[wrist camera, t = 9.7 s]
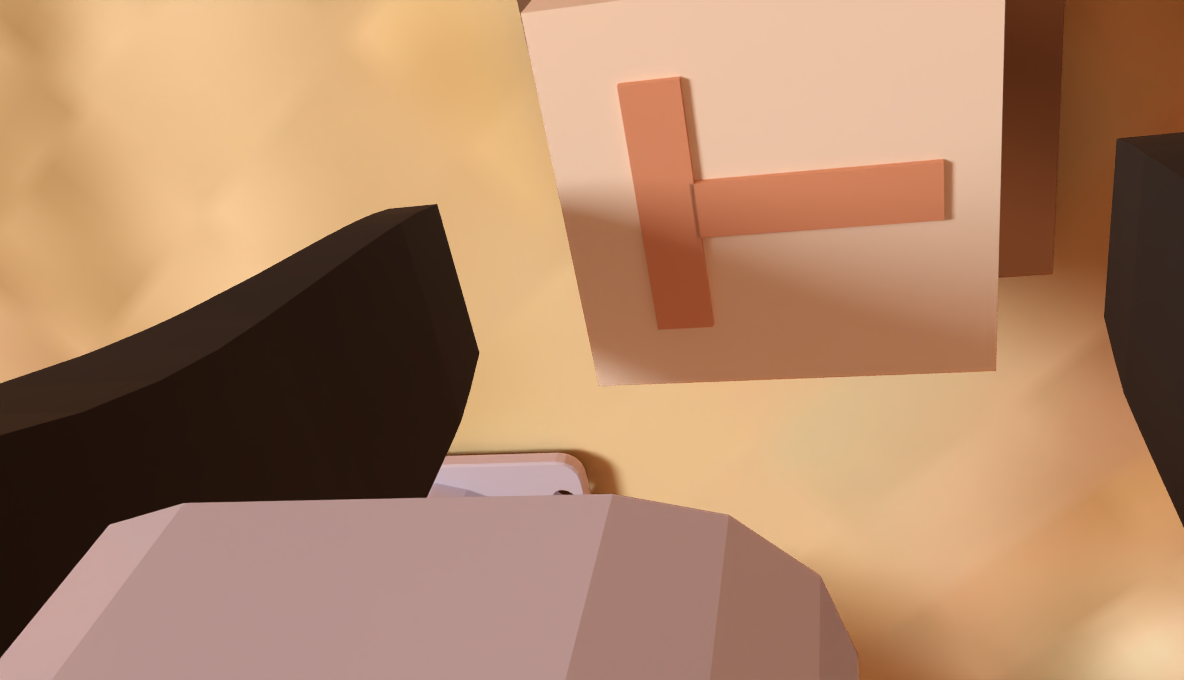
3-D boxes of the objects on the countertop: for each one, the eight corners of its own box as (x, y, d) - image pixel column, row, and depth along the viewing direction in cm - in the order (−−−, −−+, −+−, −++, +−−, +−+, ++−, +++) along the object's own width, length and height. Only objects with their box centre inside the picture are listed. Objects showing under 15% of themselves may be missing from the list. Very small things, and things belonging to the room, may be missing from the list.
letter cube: (957, 194, 17) (997, 375, 13) (651, 218, 18) (598, 390, 14) (957, -140, 15) (1007, -48, 10) (602, -85, 16) (517, 16, 12)
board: (1043, 245, 18) (1052, 273, 18) (594, 278, 20) (584, 304, 20) (1062, -284, 14) (1076, -279, 13) (498, -177, 16) (480, -167, 15)
